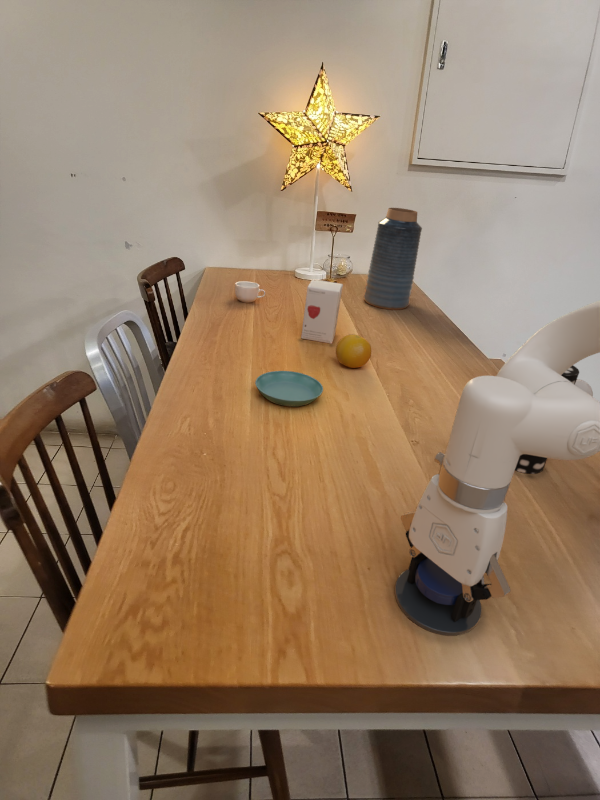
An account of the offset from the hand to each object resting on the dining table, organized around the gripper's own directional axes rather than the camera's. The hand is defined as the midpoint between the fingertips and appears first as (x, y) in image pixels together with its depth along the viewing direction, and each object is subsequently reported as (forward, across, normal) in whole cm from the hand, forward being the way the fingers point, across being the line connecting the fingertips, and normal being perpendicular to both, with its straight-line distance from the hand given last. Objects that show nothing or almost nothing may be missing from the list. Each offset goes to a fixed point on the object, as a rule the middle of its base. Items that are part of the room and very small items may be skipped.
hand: (437, 595), depth 69 cm
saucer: (+1, -56, +18) cm, 59 cm away
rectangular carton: (+1, -82, +48) cm, 95 cm away
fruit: (+1, -62, +42) cm, 75 cm away
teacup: (+1, -117, +48) cm, 126 cm away
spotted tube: (+1, -13, +42) cm, 44 cm away
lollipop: (+1, -13, +54) cm, 55 cm away
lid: (-3, 0, 0) cm, 3 cm away
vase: (+1, -99, +93) cm, 136 cm away
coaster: (+1, 0, 0) cm, 1 cm away
